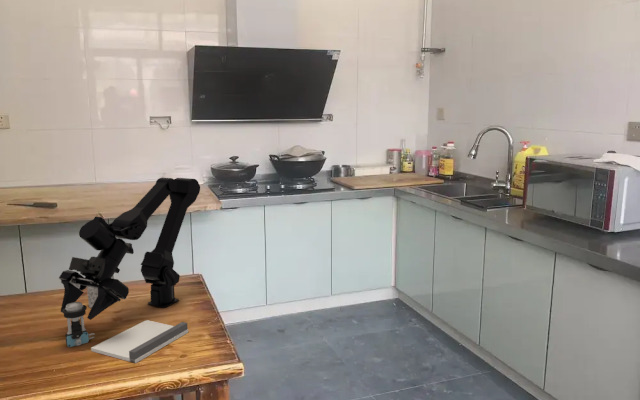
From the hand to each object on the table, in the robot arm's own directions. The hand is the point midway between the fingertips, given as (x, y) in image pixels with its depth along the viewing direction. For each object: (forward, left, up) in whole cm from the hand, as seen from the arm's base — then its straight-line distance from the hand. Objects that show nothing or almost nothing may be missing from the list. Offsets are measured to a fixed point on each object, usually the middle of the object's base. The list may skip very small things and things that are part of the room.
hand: (75, 315), depth 123 cm
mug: (-23, -16, -8) cm, 29 cm away
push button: (-1, 0, -7) cm, 8 cm away
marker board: (-8, +13, -7) cm, 17 cm away
